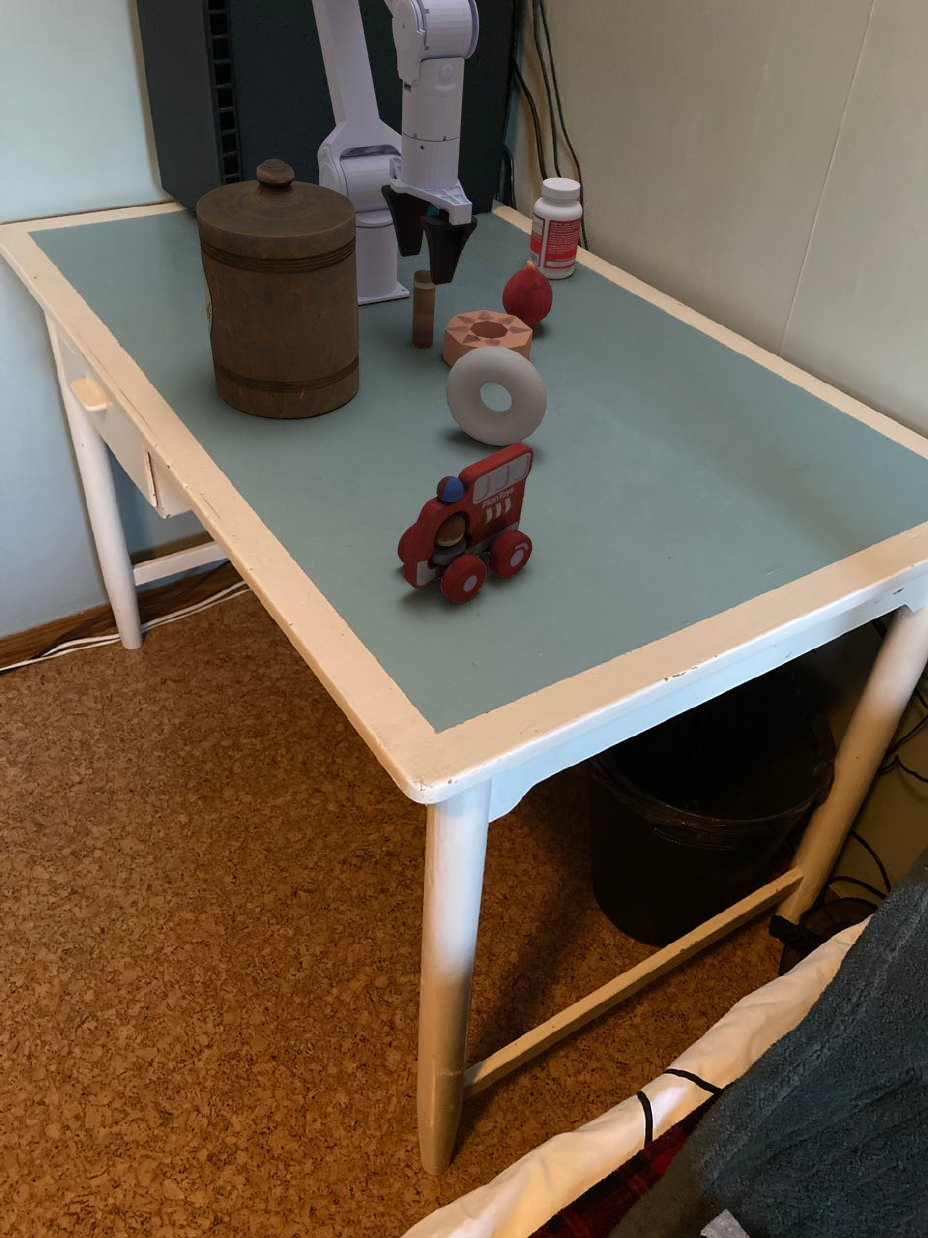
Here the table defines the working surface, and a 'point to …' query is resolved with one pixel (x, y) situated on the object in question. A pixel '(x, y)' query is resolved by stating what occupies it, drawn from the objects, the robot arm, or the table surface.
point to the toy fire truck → (471, 526)
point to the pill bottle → (556, 228)
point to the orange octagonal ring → (485, 334)
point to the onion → (528, 295)
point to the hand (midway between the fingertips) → (425, 268)
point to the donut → (507, 373)
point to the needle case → (423, 309)
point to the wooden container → (281, 293)
